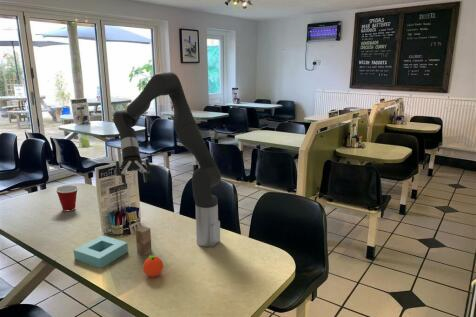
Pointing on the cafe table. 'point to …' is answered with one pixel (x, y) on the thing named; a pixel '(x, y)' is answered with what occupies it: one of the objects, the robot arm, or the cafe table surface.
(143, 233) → the peg
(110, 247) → the socket block
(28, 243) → the cafe table surface
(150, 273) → the clementine
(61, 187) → the plastic cup
